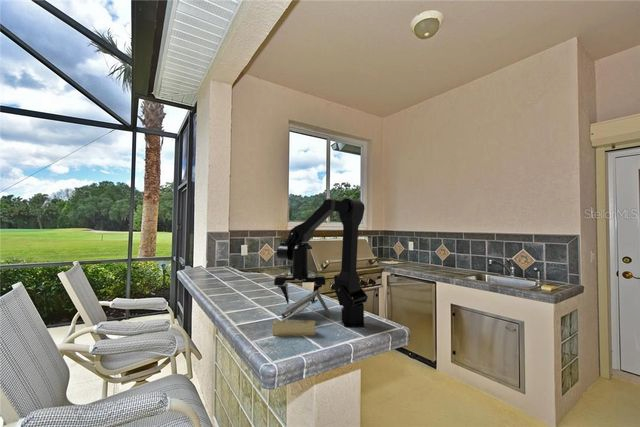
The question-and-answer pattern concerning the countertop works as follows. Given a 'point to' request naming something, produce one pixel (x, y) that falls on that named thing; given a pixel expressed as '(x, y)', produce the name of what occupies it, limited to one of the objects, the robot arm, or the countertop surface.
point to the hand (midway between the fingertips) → (300, 303)
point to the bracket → (304, 305)
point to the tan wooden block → (293, 328)
